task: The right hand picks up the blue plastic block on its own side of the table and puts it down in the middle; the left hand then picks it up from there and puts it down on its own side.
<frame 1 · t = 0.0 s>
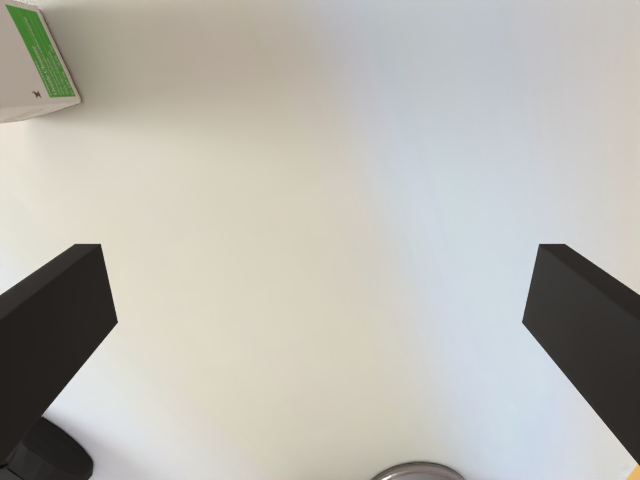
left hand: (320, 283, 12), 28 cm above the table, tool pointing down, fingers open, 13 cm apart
cosmetic box: (29, 65, 36), on the table
computer mouse: (32, 447, 53), on the table
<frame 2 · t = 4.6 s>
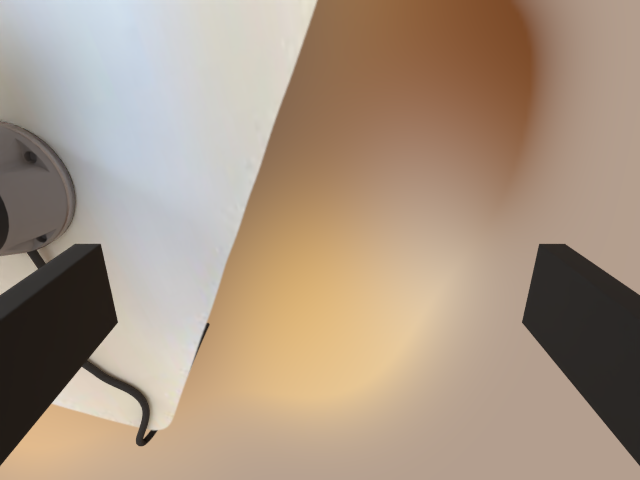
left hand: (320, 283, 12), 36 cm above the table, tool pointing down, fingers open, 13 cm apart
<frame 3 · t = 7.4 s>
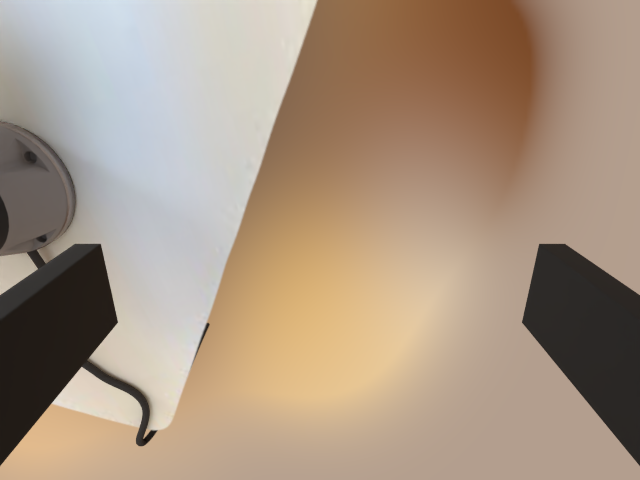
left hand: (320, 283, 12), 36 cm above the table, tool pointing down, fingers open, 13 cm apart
when the right hand's fingers open (1 cm above the table, at t = 10.7 s): block stays where it is, on the table.
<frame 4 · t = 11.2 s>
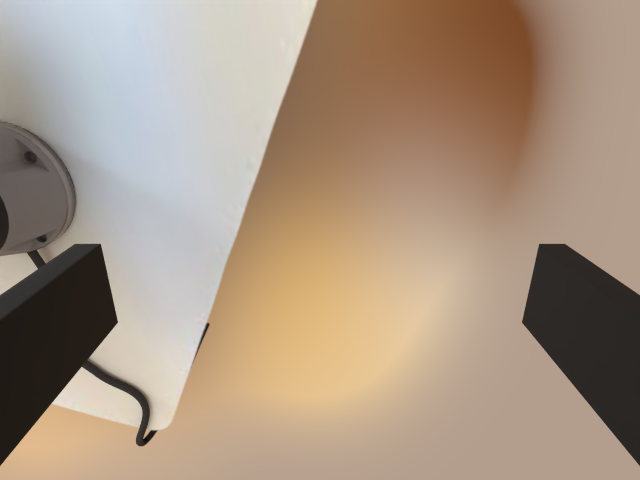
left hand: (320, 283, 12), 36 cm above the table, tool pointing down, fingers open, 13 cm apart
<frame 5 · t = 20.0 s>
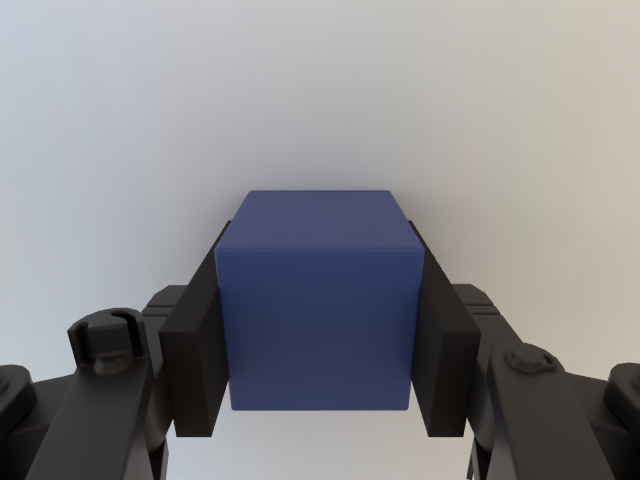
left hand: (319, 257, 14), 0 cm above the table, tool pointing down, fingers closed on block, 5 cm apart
block: (319, 254, 15), on the table, touching left hand
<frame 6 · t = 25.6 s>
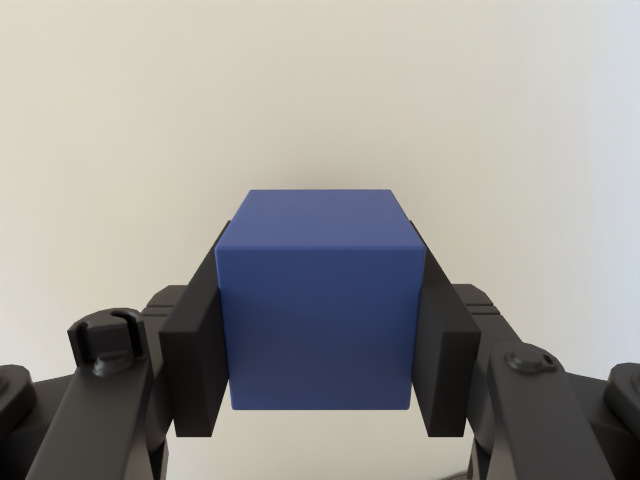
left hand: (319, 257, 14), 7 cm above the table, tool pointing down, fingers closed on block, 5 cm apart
block: (320, 253, 15), point 7 cm above the table, touching left hand
when the left hand's fingers open (1 cm above the table, at t = 31.4 s): block stays where it is, on the table.
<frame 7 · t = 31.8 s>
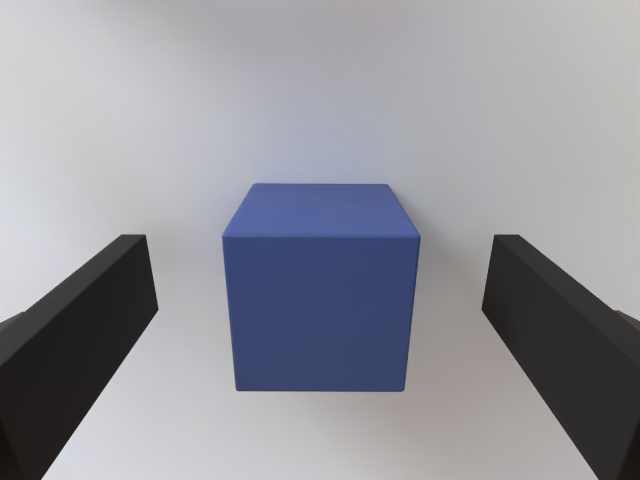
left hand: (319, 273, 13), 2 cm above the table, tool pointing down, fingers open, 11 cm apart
block: (320, 245, 15), on the table
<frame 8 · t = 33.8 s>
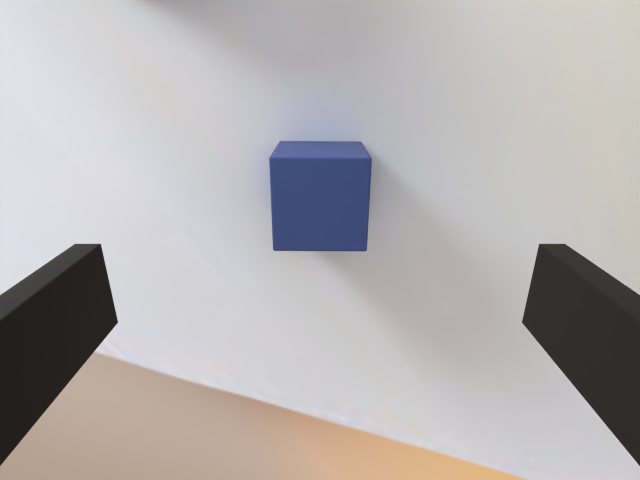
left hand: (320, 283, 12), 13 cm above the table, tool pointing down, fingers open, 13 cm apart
block: (320, 181, 24), on the table
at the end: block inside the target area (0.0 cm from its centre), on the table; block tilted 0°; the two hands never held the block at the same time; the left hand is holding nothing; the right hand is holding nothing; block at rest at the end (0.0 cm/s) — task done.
